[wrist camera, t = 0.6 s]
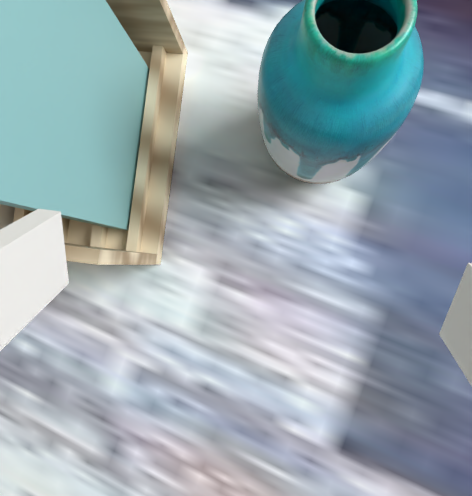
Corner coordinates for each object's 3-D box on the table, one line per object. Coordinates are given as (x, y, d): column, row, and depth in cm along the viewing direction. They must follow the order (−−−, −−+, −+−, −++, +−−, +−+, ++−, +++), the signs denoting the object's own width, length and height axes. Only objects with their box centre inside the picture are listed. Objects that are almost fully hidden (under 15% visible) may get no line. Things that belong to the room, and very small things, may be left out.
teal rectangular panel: (130, 230, 37) (-83, 180, 15) (110, 228, 37) (-128, 176, 15) (151, 71, 37) (-25, -205, 15) (132, 70, 37) (-69, -204, 15)
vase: (241, 155, 37) (206, 43, 18) (302, 68, 37) (332, -139, 18) (329, 215, 36) (391, 161, 17) (393, 125, 36) (527, -31, 17)
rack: (160, 264, 38) (97, 264, 24) (23, 247, 39) (-107, 238, 26) (187, 52, 38) (141, -61, 25) (51, 43, 40) (-61, -68, 27)
